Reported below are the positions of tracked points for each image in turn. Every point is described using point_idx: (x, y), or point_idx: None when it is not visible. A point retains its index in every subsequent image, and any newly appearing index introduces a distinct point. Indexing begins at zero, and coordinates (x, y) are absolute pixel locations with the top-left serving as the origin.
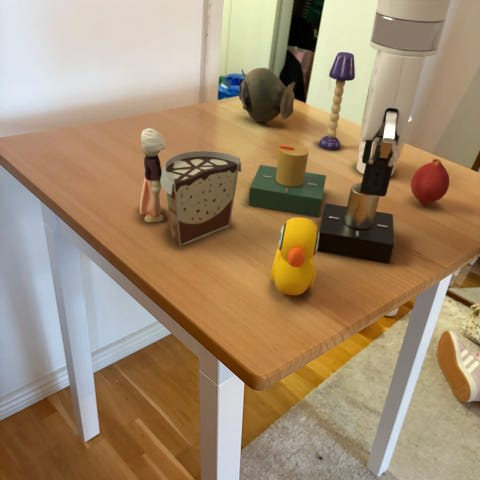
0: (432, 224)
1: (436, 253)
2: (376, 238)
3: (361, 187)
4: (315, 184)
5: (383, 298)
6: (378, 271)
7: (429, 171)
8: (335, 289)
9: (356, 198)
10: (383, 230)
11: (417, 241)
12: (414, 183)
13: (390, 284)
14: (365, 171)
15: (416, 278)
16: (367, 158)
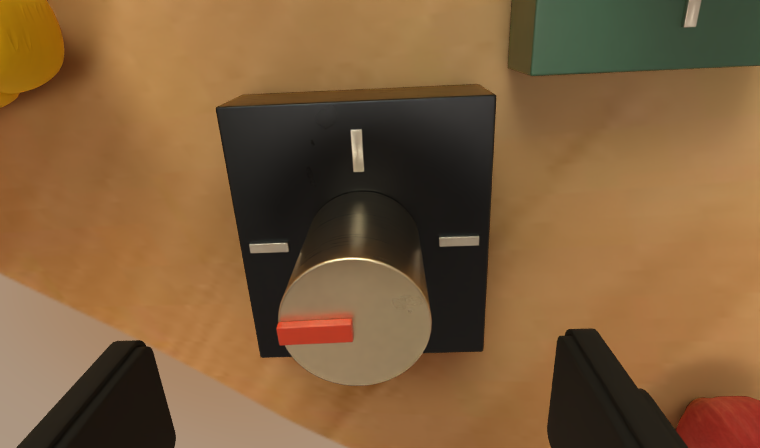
0: None
1: (392, 423)
2: (272, 307)
3: (98, 359)
4: (688, 19)
5: (95, 306)
6: (221, 291)
7: None
8: (55, 183)
9: (291, 277)
10: None
11: (442, 384)
12: (737, 428)
13: (172, 321)
14: (27, 442)
15: (238, 378)
16: (568, 372)
